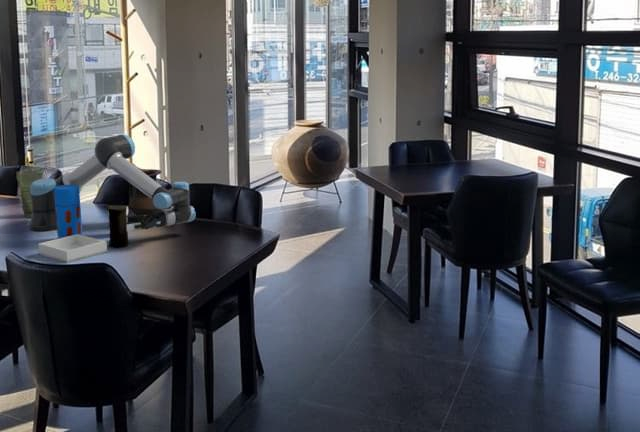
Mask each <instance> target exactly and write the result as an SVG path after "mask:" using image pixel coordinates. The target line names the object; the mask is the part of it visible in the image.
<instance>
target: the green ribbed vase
mask: <svg viewBox="0 0 640 432" xmlns="http://www.w3.org/2000/svg"><path fill="white" fill-rule="evenodd" d="M44 170H45V168H42V167H41V168H38V169H34V170H33V169H31V168H29V169H28V170H26V169H25V170H18V171H16V172H15V173H16V176H15V177H16V180H17V183H18V185H19V189H20V197H21V203H22V205H21V208H22V212H23V216H24V218H31V217H32V202H31V193H30V190H31V189H30V186H31V184H32V183H33V182H34V181H36V180H40V179H43V178H42V176H43V175H44Z"/></svg>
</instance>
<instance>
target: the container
mask: <svg viewBox="0 0 640 432" xmlns="http://www.w3.org/2000/svg"><path fill="white" fill-rule="evenodd" d="M127 207H128V205H123V204H116V205H115V204H113V205H110V206H107V213H108V212H109V214H108V224H109V240H108V241H109V244H108V246H109V247H110V248H111V249H124V248H128V247H129V246H130V239H129V232H128V231H127V227H126V225H128V224H127V215H126V211H127V210H126V209H127Z"/></svg>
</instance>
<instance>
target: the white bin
mask: <svg viewBox="0 0 640 432" xmlns="http://www.w3.org/2000/svg"><path fill="white" fill-rule="evenodd" d="M107 246H108V245H107V240H103V239H99V238H95V237H91V236H86V235H83V234H82V235H79V234H76V235H72V236H68V237H64V238H60V239H58V238H57V239H51V240H48V241H44V242H39V243H37V247H38V255H39V254H40V255H39V256H41V255H43V256H42V257H45V256H46V257H45V258H48V257H50V258H49V259H52V258H53V260H55V259H56V261H59V262H62V261H63V263H67V264H69V262H70V263H73V262H76V260H77V261H79V260H80V261H81V260H84V259H87V258H91V257H95V256H99V255H103V254H105V253H108V247H107ZM72 261H73V262H72Z"/></svg>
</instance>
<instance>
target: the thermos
mask: <svg viewBox="0 0 640 432" xmlns="http://www.w3.org/2000/svg"><path fill="white" fill-rule="evenodd" d="M80 194H81V192H80V193H79V186H78V185H60V186H56V187H54V197H55V209H56V221H57V229H56V230H57V231H56V232H57V239H60V238H64V237H68V236H72V235H76V234H79V235H83V222H82V221H83V220H82V209H81V208H82V207H81V195H80Z"/></svg>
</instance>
